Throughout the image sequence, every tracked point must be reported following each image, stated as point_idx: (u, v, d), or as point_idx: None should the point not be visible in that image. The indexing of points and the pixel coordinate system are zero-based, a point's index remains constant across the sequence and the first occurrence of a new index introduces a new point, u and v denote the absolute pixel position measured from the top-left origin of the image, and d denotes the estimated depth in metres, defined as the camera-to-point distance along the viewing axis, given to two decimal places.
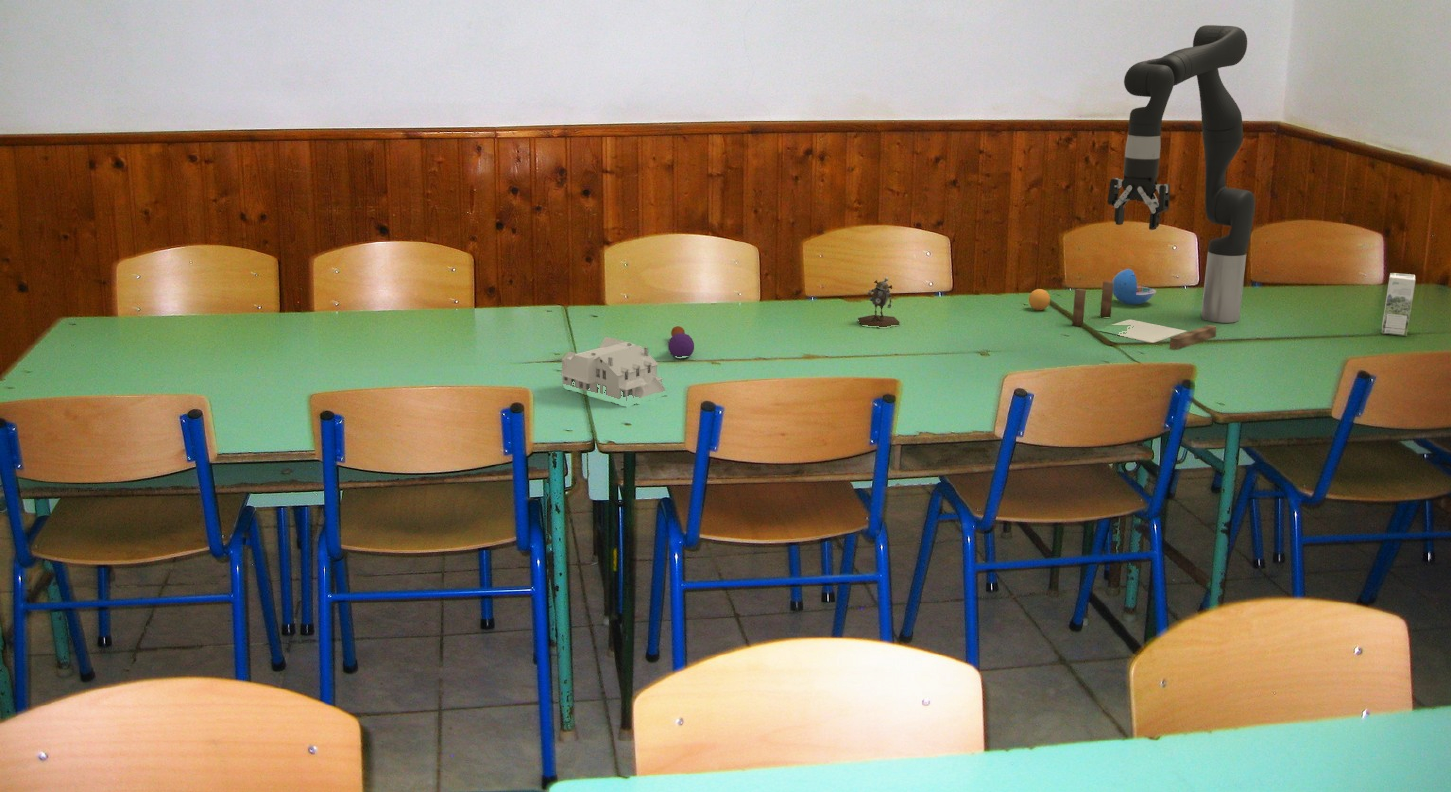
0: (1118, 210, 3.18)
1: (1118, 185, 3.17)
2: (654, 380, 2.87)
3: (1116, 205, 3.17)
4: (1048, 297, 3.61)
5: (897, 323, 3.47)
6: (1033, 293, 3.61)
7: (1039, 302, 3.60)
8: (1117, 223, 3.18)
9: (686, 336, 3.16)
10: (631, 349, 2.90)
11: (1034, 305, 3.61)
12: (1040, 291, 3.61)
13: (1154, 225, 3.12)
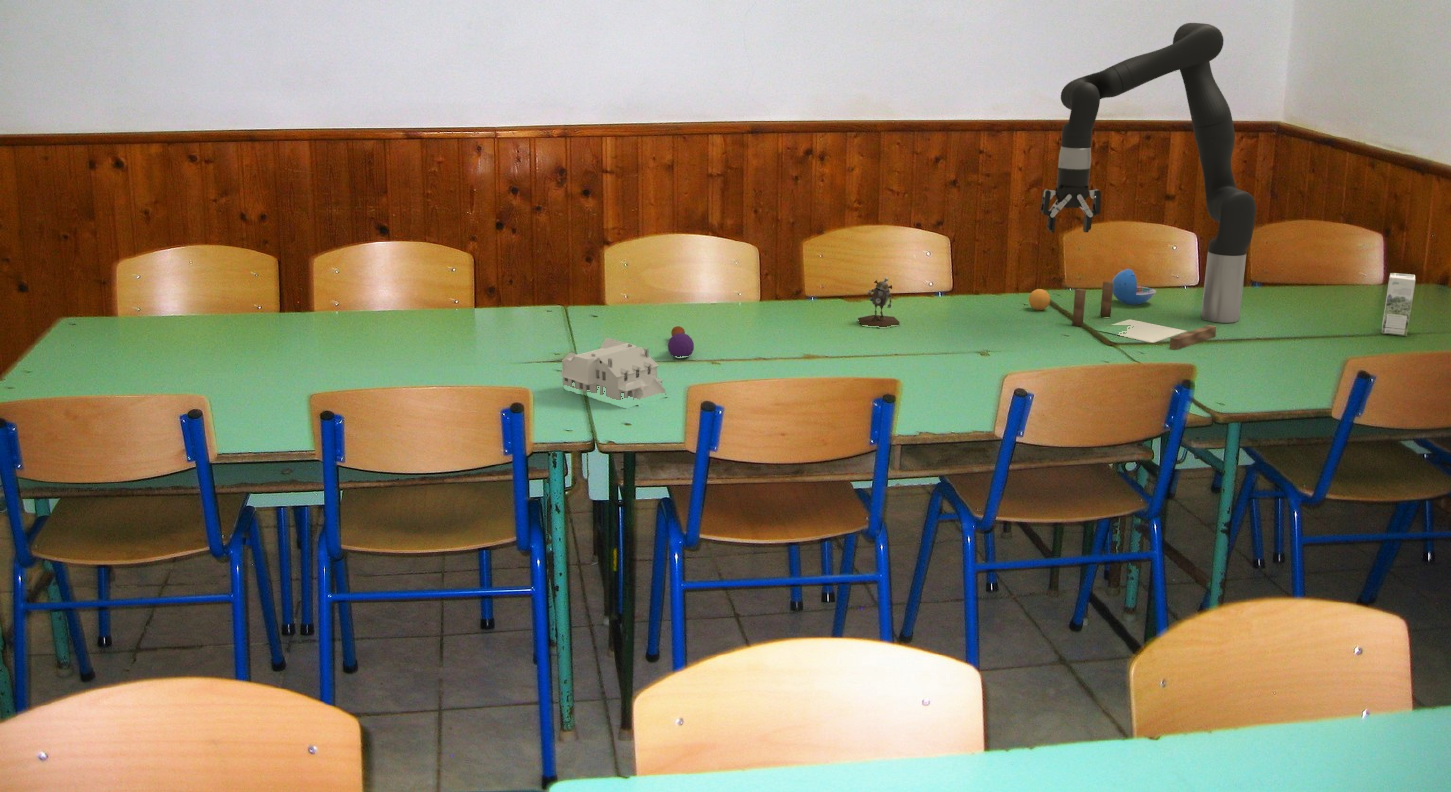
0: (1054, 219, 3.38)
1: (1051, 196, 3.37)
2: (654, 381, 2.86)
3: (1053, 214, 3.37)
4: (1048, 297, 3.61)
5: (897, 323, 3.47)
6: (1033, 293, 3.61)
7: (1039, 302, 3.60)
8: (1053, 231, 3.39)
9: (686, 336, 3.16)
10: (631, 350, 2.89)
11: (1034, 305, 3.61)
12: (1040, 291, 3.61)
13: (1089, 228, 3.40)
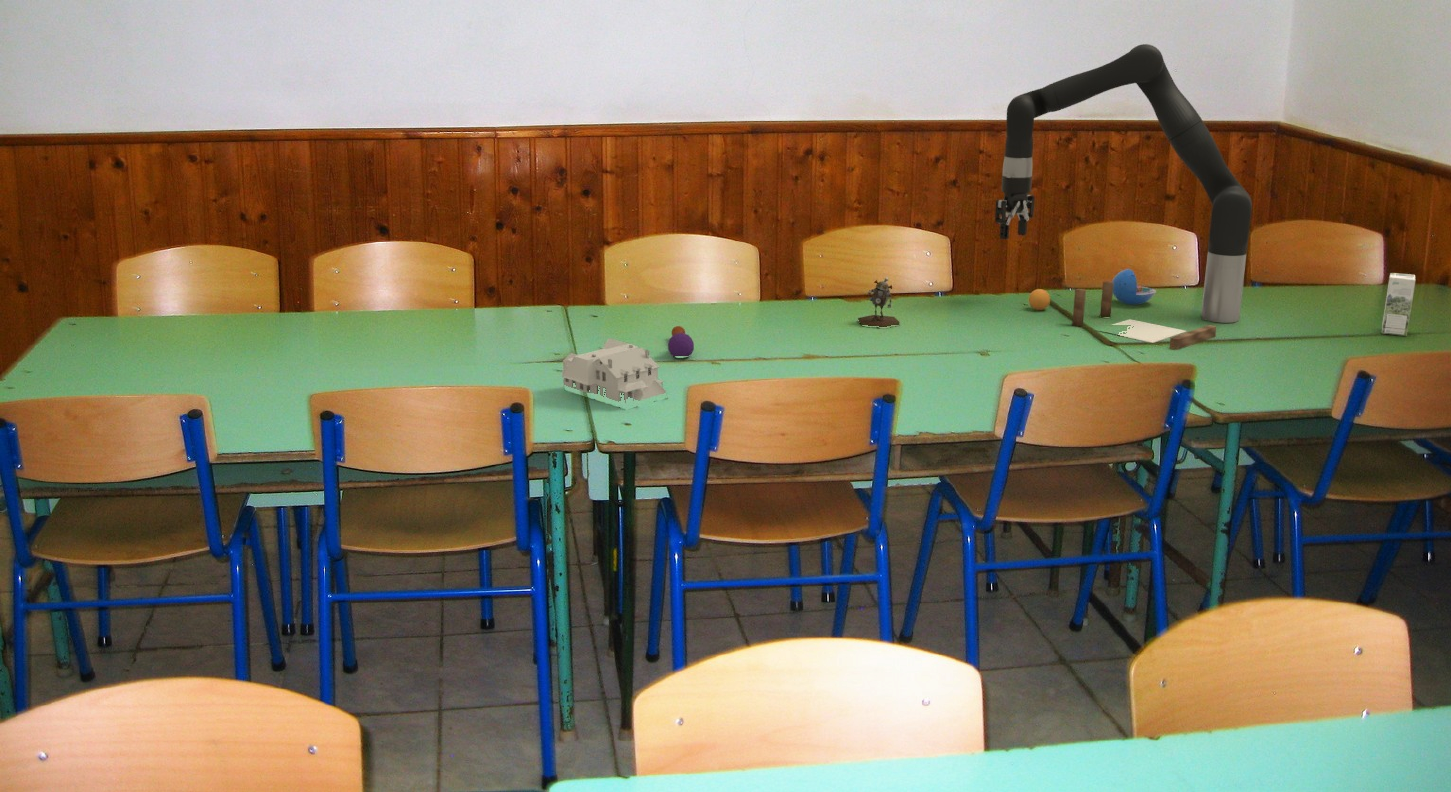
0: (1008, 226, 3.60)
1: None
2: (654, 382, 2.85)
3: (1008, 222, 3.60)
4: (1048, 297, 3.61)
5: (897, 323, 3.47)
6: (1033, 293, 3.61)
7: (1039, 302, 3.60)
8: (1007, 237, 3.61)
9: (686, 336, 3.16)
10: (632, 351, 2.88)
11: (1034, 305, 3.61)
12: (1040, 291, 3.61)
13: (1025, 231, 3.67)
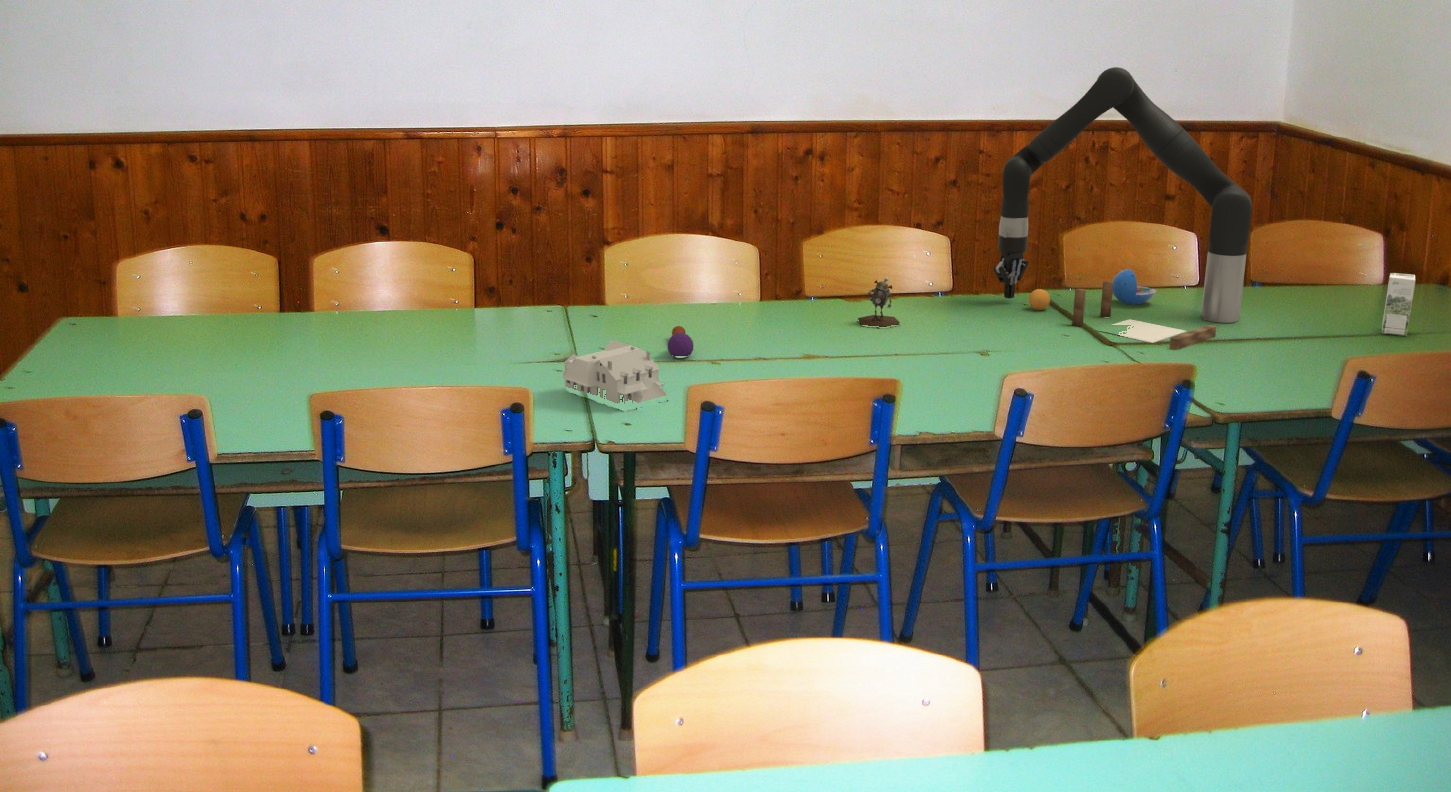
0: (1012, 286, 3.68)
1: (1003, 267, 3.64)
2: (654, 385, 2.83)
3: (1012, 282, 3.67)
4: (1048, 297, 3.61)
5: (897, 323, 3.47)
6: (1033, 293, 3.61)
7: (1039, 302, 3.60)
8: (1011, 297, 3.69)
9: (685, 336, 3.16)
10: (633, 353, 2.87)
11: (1034, 305, 3.61)
12: (1040, 291, 3.61)
13: (1013, 293, 3.69)
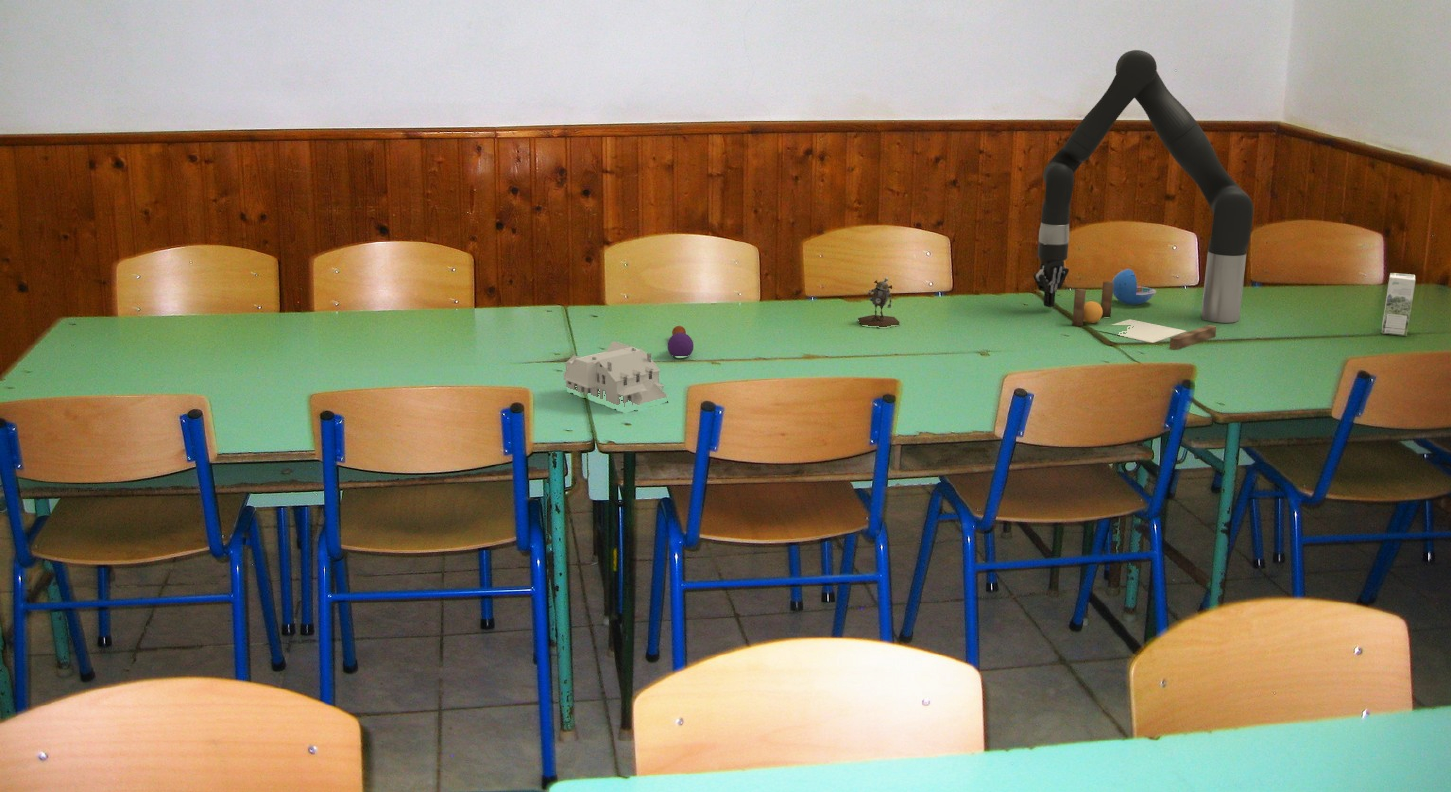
0: (1052, 294, 3.59)
1: (1043, 275, 3.55)
2: (654, 386, 2.82)
3: (1052, 290, 3.58)
4: (1099, 306, 3.48)
5: (897, 323, 3.47)
6: None
7: (1091, 312, 3.47)
8: (1051, 305, 3.60)
9: (685, 336, 3.16)
10: (634, 354, 2.86)
11: (1087, 317, 3.48)
12: (1089, 302, 3.49)
13: (1053, 302, 3.61)
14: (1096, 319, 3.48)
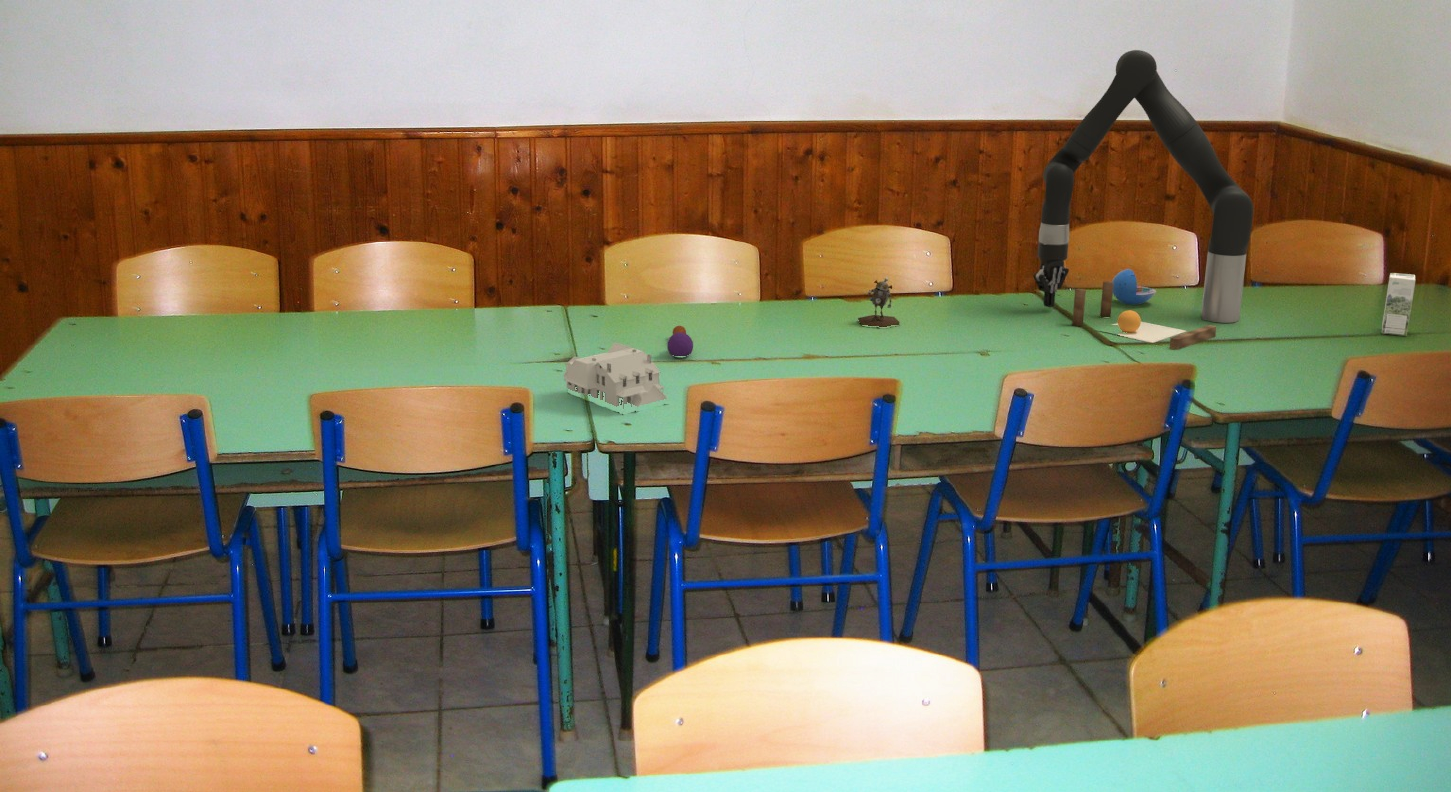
0: (1052, 294, 3.59)
1: (1043, 275, 3.55)
2: (654, 388, 2.81)
3: (1052, 290, 3.58)
4: None
5: (897, 323, 3.47)
6: (1120, 328, 3.41)
7: (1119, 316, 3.40)
8: (1051, 305, 3.60)
9: (685, 335, 3.17)
10: (634, 356, 2.85)
11: (1123, 318, 3.39)
12: None
13: (1053, 302, 3.61)
14: (1129, 311, 3.39)
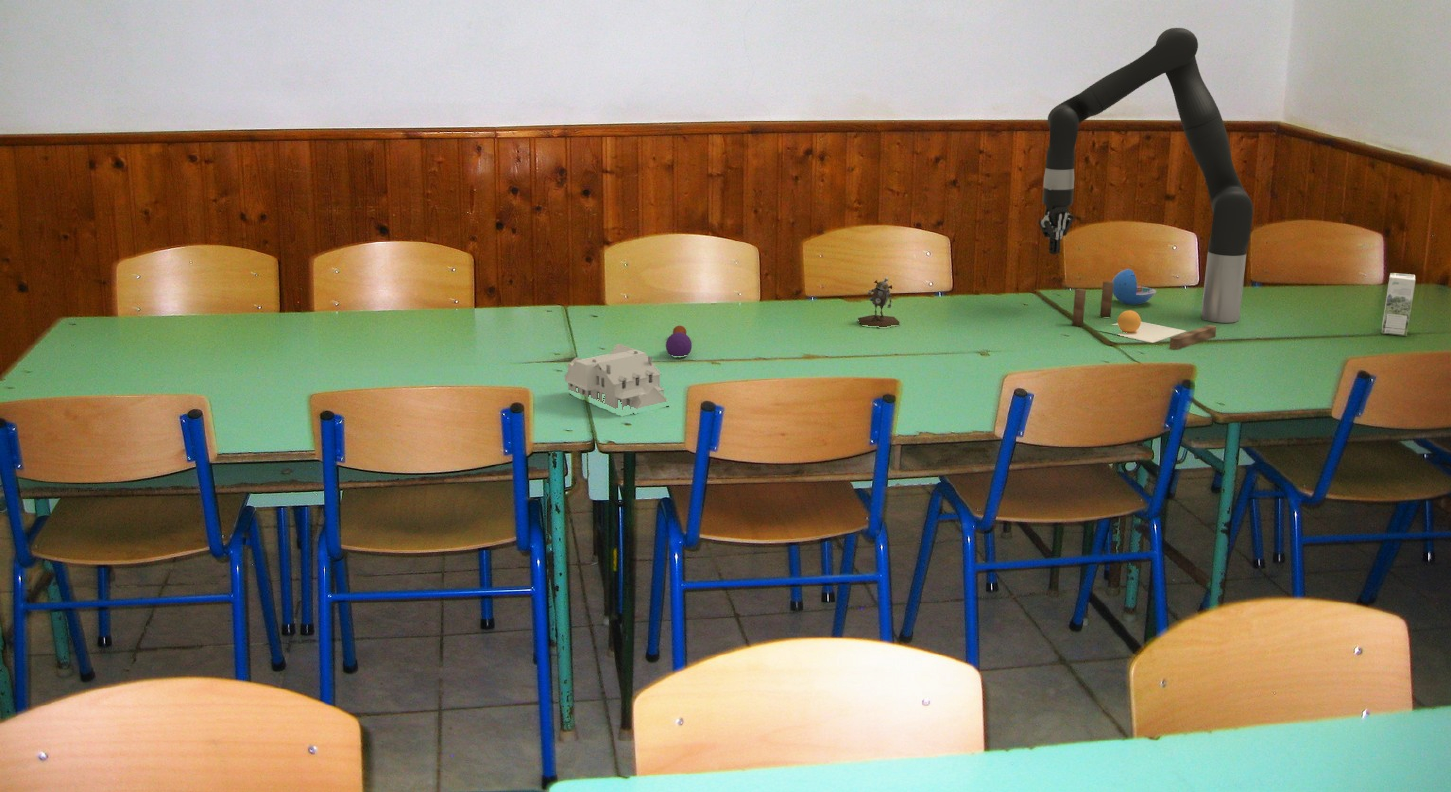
0: (1058, 241, 3.55)
1: (1048, 221, 3.51)
2: (654, 390, 2.80)
3: (1057, 237, 3.54)
4: None
5: (897, 323, 3.47)
6: (1120, 328, 3.41)
7: (1119, 316, 3.40)
8: (1057, 252, 3.56)
9: (683, 335, 3.17)
10: (635, 357, 2.84)
11: (1123, 318, 3.39)
12: None
13: None
14: (1129, 311, 3.39)
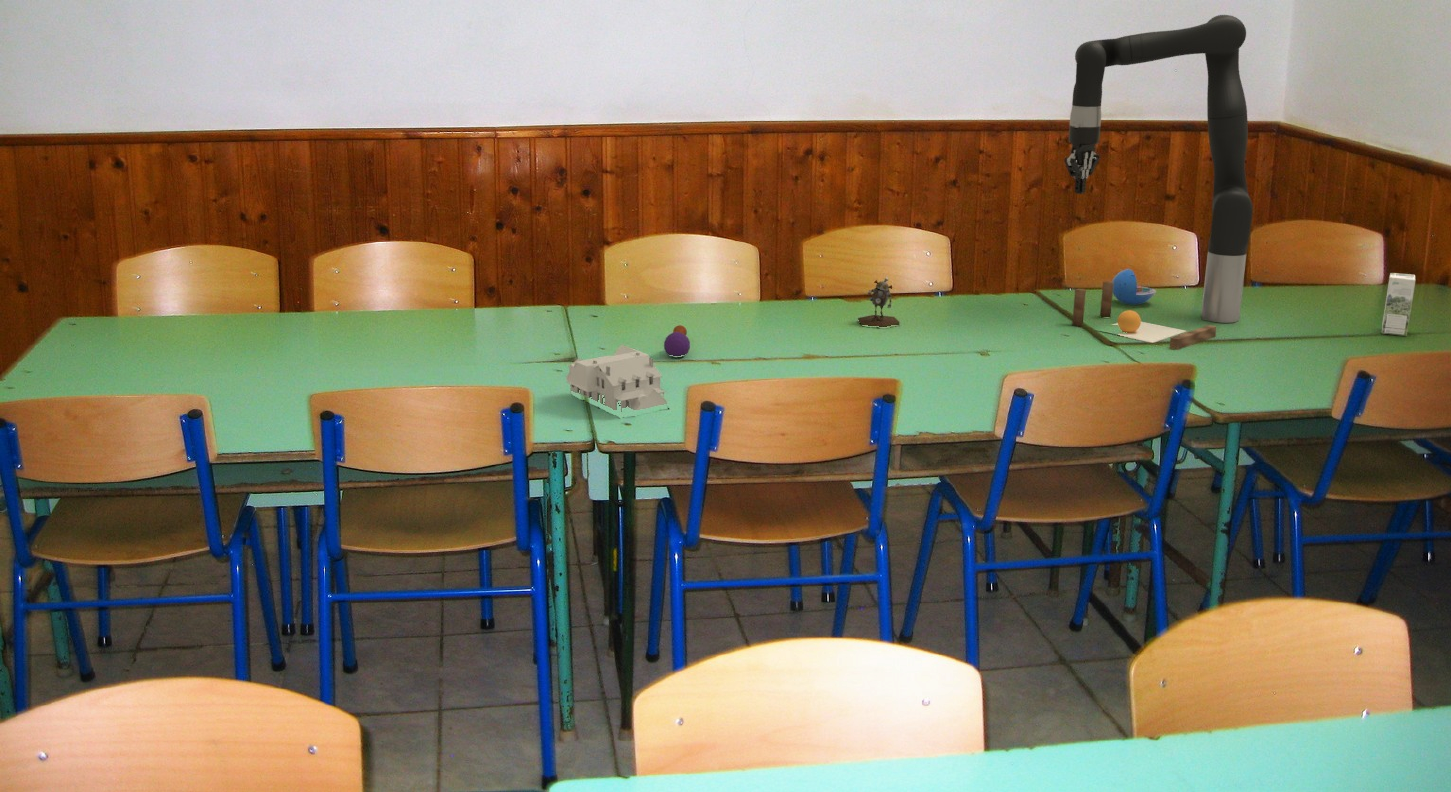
0: (1083, 180, 3.50)
1: (1074, 159, 3.46)
2: (654, 392, 2.79)
3: (1083, 176, 3.49)
4: None
5: (897, 323, 3.47)
6: (1120, 328, 3.41)
7: (1119, 316, 3.40)
8: (1082, 192, 3.51)
9: (681, 335, 3.17)
10: (636, 359, 2.83)
11: (1123, 318, 3.39)
12: None
13: (1084, 188, 3.52)
14: (1129, 311, 3.39)
